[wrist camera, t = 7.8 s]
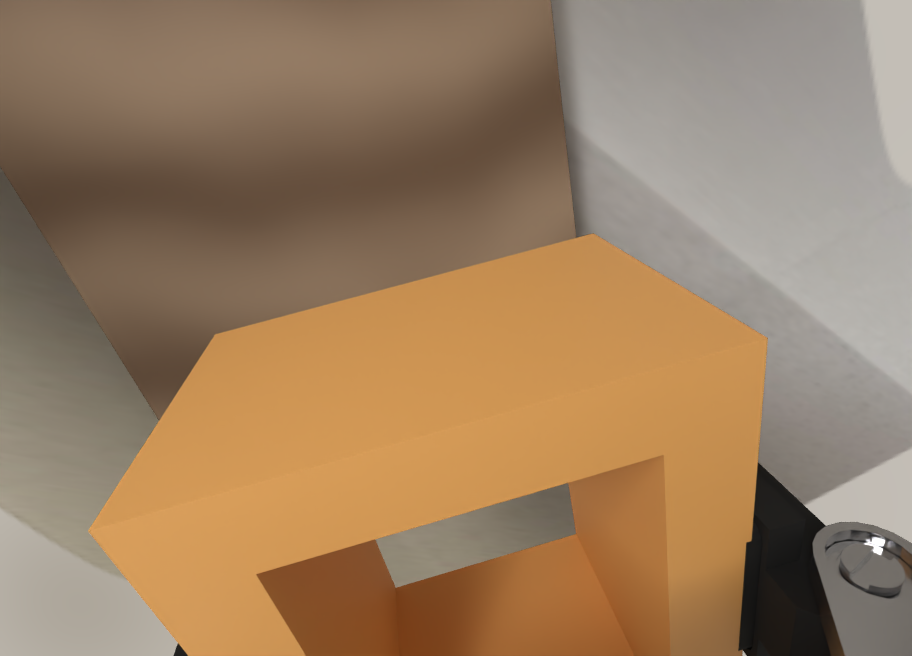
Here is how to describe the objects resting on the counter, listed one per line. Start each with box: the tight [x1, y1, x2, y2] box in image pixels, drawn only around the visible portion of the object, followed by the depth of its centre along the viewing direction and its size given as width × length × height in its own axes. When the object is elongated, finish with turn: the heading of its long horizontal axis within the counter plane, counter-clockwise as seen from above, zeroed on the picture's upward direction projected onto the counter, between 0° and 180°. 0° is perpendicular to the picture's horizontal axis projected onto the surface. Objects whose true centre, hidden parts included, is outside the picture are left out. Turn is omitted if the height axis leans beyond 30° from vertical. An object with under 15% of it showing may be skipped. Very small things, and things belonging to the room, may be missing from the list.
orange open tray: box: [88, 233, 768, 656], centre depth 9 cm, size 9×7×4 cm
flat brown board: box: [0, 0, 576, 420], centre depth 13 cm, size 22×16×8 cm
